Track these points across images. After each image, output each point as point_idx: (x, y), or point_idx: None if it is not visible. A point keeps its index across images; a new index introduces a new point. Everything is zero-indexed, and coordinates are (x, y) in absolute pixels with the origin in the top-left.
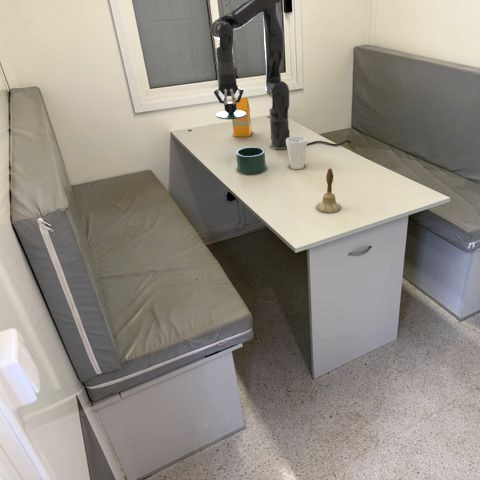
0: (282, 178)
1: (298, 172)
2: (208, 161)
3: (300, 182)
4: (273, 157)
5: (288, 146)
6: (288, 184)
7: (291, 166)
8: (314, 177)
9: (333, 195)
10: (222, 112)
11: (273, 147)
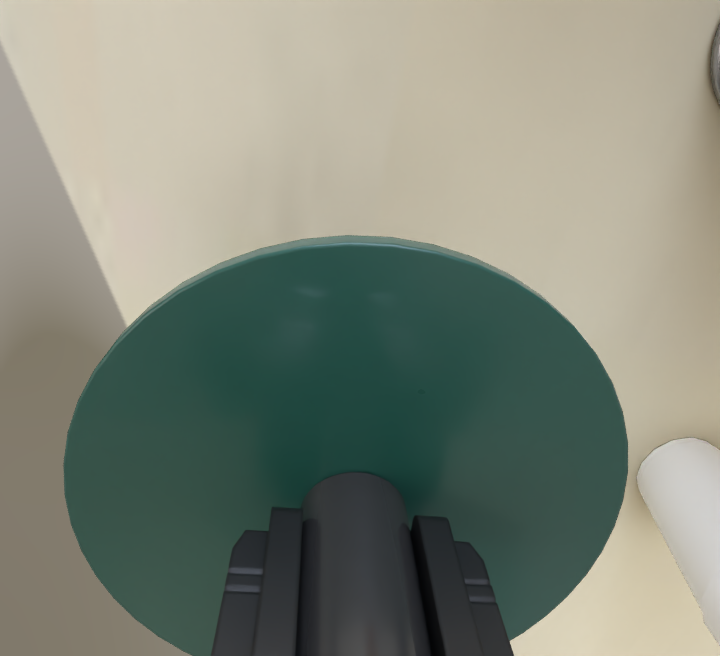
0: None
1: (640, 538)
2: (113, 221)
3: (590, 630)
4: (616, 286)
5: (704, 616)
6: (529, 636)
7: (641, 491)
8: (678, 601)
9: None
10: (190, 385)
11: (717, 85)
